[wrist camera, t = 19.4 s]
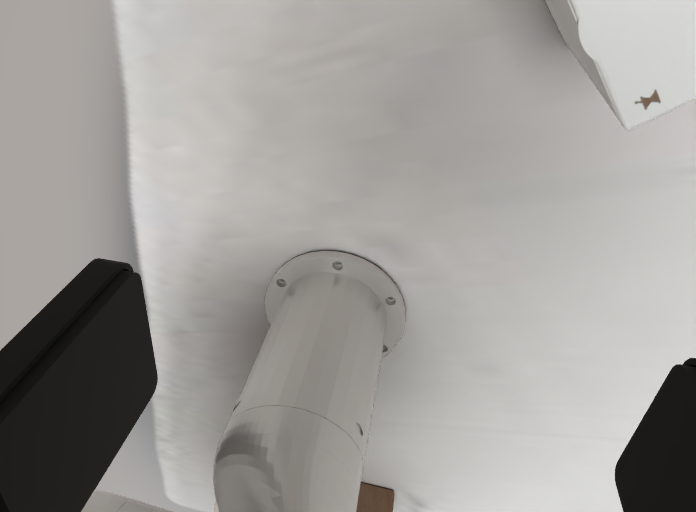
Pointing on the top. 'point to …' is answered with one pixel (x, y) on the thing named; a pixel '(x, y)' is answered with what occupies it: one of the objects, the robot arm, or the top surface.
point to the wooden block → (374, 499)
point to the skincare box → (633, 52)
